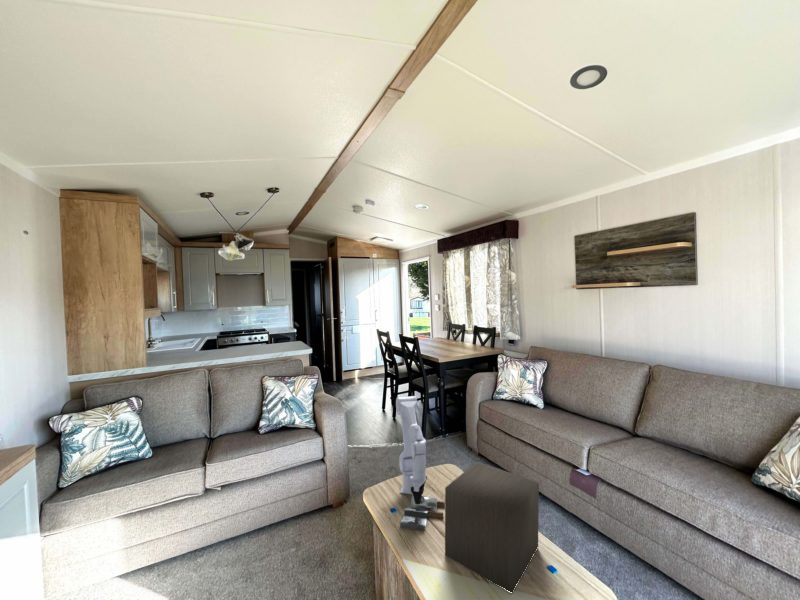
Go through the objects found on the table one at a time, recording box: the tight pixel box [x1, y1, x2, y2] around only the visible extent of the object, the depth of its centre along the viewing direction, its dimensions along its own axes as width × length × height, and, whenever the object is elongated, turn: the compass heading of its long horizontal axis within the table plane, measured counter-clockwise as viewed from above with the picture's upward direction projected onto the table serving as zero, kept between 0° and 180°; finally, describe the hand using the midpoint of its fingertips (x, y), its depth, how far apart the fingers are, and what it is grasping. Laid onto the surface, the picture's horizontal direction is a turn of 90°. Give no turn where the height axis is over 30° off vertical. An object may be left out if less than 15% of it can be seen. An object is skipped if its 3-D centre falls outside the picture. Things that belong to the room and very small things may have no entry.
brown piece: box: [427, 500, 445, 519], centre depth 148 cm, size 8×7×2 cm
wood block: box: [444, 461, 540, 593], centre depth 125 cm, size 25×25×25 cm
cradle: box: [399, 507, 429, 532], centre depth 141 cm, size 9×10×2 cm
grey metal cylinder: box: [410, 494, 438, 511], centre depth 150 cm, size 11×5×5 cm, turn 77°
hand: (419, 498), depth 150 cm, fingers open, 7 cm apart
